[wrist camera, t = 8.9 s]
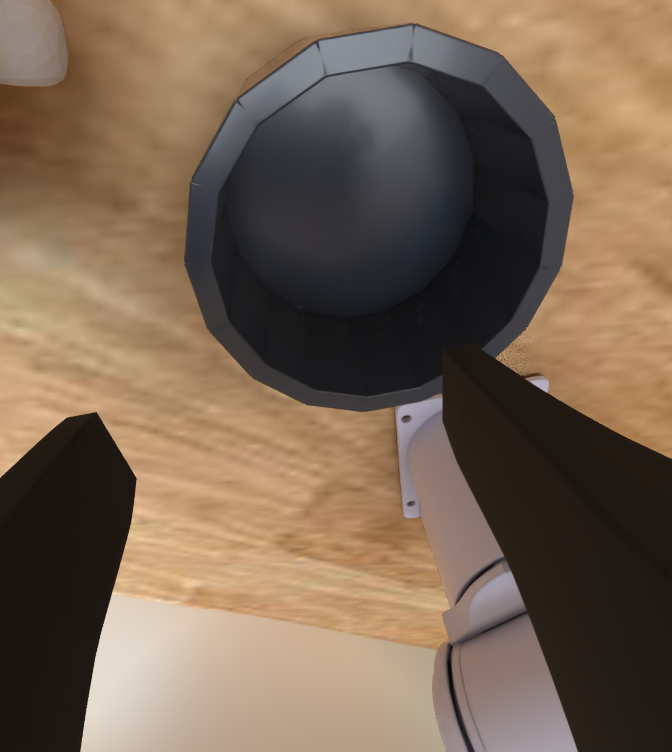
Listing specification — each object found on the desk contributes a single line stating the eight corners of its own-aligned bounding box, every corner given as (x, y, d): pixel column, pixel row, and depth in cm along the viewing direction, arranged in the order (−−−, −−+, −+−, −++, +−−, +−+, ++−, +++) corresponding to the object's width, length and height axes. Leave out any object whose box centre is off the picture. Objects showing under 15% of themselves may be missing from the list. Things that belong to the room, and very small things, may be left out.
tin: (480, 302, 21) (542, 380, 16) (249, 344, 21) (244, 435, 16) (498, 5, 15) (610, -11, 10) (165, 61, 14) (116, 72, 10)
